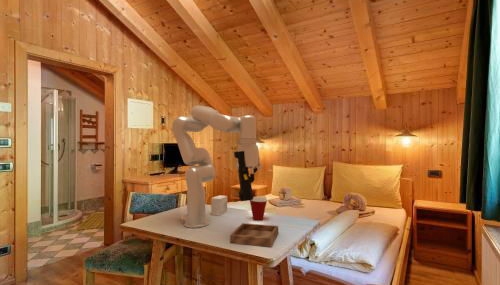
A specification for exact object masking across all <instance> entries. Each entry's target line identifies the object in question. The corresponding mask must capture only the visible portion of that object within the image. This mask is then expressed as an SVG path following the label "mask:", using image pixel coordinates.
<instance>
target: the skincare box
mask: <svg viewBox="0 0 500 285" xmlns="http://www.w3.org/2000/svg"><path fill="white" fill-rule="evenodd" d="M210 199H211V202H210V207H211V208H210V215H211V216H222V215H224V214H226V213H228V196H227V195H220V194H219V195H217V196H213V197H211V198H210Z"/></svg>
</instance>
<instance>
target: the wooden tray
mask: <svg viewBox="0 0 500 285" xmlns="http://www.w3.org/2000/svg"><path fill="white" fill-rule="evenodd" d="M278 234H279V225H271V224H270V225H268V224H257V223H245V222H244V223H243V222H242V223H241V224H240V225H239V226H238V227H237V228H236V229H234V231H233V232H231V233H230V234H229V242H230V243H229V244H234V245H244V246H252V247H253V246H255V247H266V248H272V246H273V245H274V242H275V240H276V239H277V237H278Z"/></svg>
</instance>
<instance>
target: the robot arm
mask: <svg viewBox="0 0 500 285" xmlns="http://www.w3.org/2000/svg"><path fill="white" fill-rule="evenodd" d="M256 119H257V118H256V117H255V116H254V115H242V116H239V117H238V116H232V115H226V114H222V113H220V112H219V110H217V109H214V108H213V107H210V106H203V105H194V106H193V107H192V108H191V110H190V116H188V115H180V116H177V117H175V118H174V119H173V120H172V124H171V131H172V134H173V137H174V139H175V141H176V143H177V145H178V146H177V147H178V149H179V152H180V155H181V158H182V160H183V163H184V164H185V165H188V166H189V167H188V168H187V169H186V170H185V173H184V175H185V176H184V177H185V183H186V194H187V195H186V200H187V202H186V203H187V206H186V207H187V208H186V209H187V215H181V217H180V218H181V221H185V222H184V226H185V228H190V229H192V228H193V229H197V228H204V227H206V226H208V225H209V221H208V219H206V190H205V186H204V185H203V183H206V182H207V183H208V182H212V181H213V180H214V179H215V178H216V169H215V167H214V166H215V165H214V164H213V161H212V158H211V155H210V153H209V151H208V150H207V149H206V148H204V147H196V145H195V142H194V140H193V138H192V137H191V135H190V134H189V133H188V132H190V133H191V132H193V133H198V132H199V133H200V132H201V131H203V130H204V129H205V128H207V127H208V126H210V127H211V128H213V129H215V130H217V131H221V132H223V133H224V132H225V133H239V139H238V140H236V144H239V145H237V147H238V148H237V150H236V151H237V152H239V151H244V154H245V155H244V156H245V167H248V168H250V173H249V176H250V183H251V184H252V183H254V181H255V174H256V172H258V171H259V170H261V169H262V168H263V167H262V164H261V162H260V160H261V159H260V151H259V147H258V145H257V120H256ZM234 169H235V170H237V171H238V170H239V163H238V158H236V164H235V167H234Z"/></svg>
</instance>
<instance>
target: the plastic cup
mask: <svg viewBox="0 0 500 285" xmlns="http://www.w3.org/2000/svg"><path fill="white" fill-rule="evenodd" d="M268 199H269V198H265V197H260V196H259V197H258V196H253V200H249V204H250V209H251V215H252V219H253V221H258V222H259V221H263V220H264V216H265V211H266V206H267V202H268Z"/></svg>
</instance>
